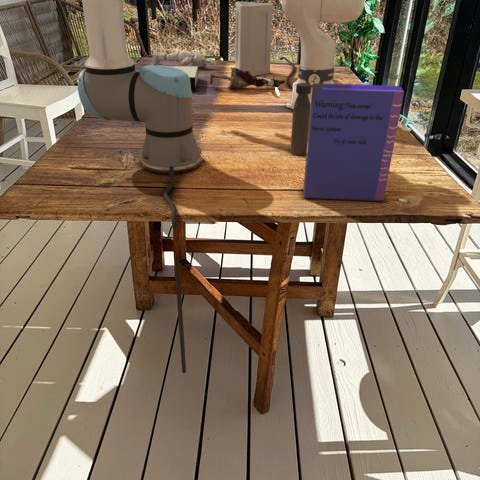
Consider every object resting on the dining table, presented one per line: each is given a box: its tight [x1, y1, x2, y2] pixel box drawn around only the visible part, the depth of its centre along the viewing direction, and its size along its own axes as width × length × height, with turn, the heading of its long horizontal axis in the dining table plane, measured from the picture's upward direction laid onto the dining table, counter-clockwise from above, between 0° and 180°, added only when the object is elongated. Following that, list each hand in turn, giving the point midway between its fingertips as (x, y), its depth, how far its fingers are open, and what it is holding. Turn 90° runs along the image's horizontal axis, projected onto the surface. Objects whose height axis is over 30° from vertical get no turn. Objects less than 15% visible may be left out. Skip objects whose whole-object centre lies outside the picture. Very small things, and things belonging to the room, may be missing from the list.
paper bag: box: [234, 1, 274, 77], centre depth 210 cm, size 19×15×28 cm
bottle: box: [289, 94, 311, 156], centre depth 127 cm, size 5×5×18 cm
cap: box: [296, 83, 311, 95], centre depth 122 cm, size 4×4×2 cm
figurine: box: [209, 66, 287, 89], centre depth 190 cm, size 24×8×30 cm
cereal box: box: [302, 83, 405, 202], centre depth 102 cm, size 17×5×24 cm, turn 86°
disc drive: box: [168, 65, 199, 92], centre depth 195 cm, size 18×22×5 cm
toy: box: [151, 50, 218, 68], centre depth 224 cm, size 24×25×7 cm
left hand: (174, 20), depth 152 cm, fingers open, 13 cm apart
